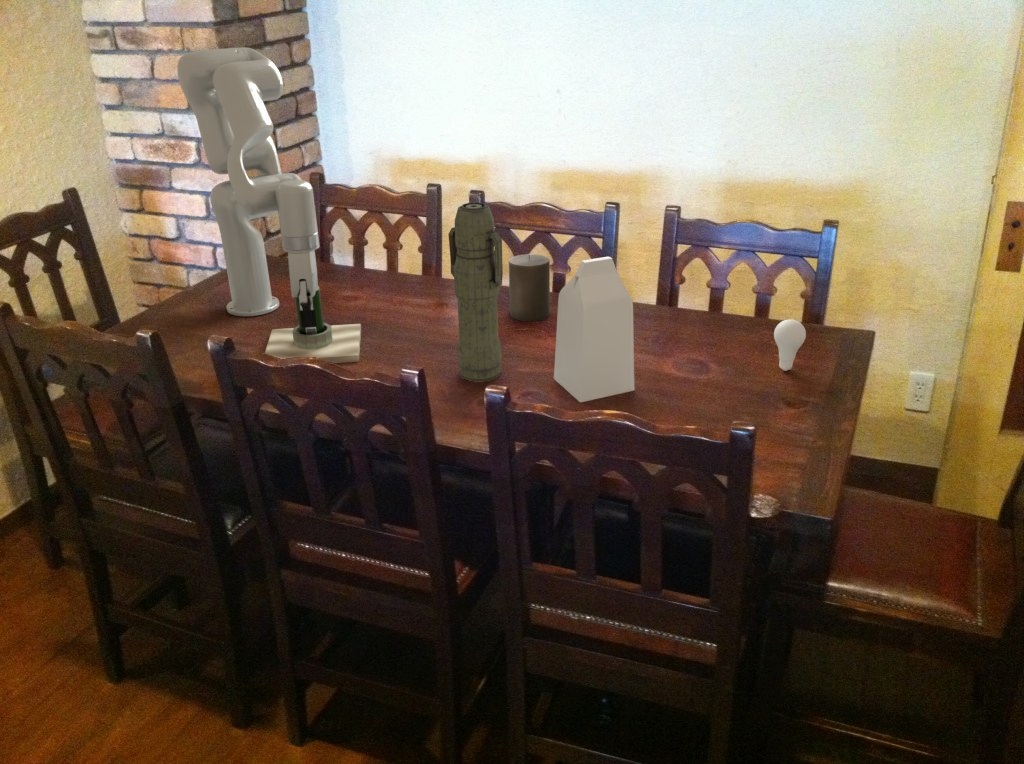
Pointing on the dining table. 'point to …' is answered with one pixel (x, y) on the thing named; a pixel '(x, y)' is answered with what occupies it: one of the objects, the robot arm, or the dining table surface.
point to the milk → (595, 333)
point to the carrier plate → (327, 353)
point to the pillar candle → (529, 287)
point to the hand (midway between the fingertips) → (310, 320)
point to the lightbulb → (788, 341)
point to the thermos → (477, 290)
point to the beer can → (319, 315)
